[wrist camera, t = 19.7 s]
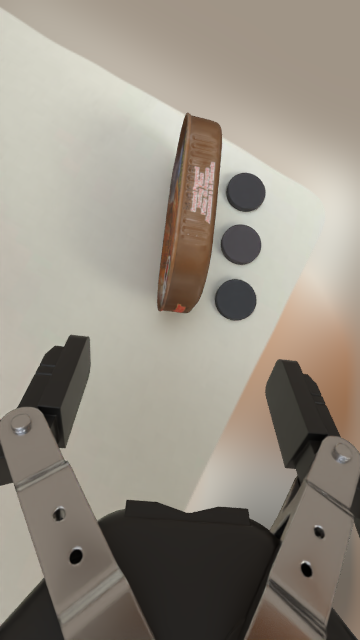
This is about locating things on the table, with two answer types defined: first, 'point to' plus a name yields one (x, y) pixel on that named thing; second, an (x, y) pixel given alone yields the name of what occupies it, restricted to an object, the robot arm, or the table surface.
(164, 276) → the tin
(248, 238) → the dark grey disc
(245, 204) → the dark grey disc
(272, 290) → the table surface
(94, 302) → the table surface
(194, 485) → the table surface
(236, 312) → the dark grey disc
